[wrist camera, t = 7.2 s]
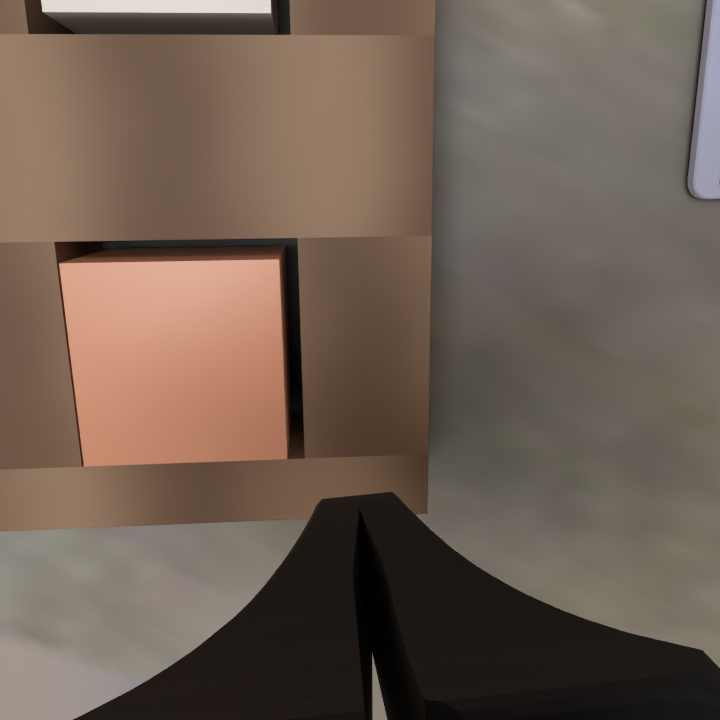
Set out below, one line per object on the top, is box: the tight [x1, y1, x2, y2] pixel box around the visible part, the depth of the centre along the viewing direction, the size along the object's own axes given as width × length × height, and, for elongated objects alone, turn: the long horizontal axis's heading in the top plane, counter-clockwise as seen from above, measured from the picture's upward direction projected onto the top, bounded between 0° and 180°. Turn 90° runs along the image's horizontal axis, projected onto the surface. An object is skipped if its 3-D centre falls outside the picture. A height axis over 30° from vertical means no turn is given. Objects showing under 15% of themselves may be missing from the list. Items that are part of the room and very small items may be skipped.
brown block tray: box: [0, 0, 435, 532], centre depth 17 cm, size 12×19×4 cm, turn 1°
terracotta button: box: [59, 246, 292, 467], centre depth 17 cm, size 5×5×4 cm
